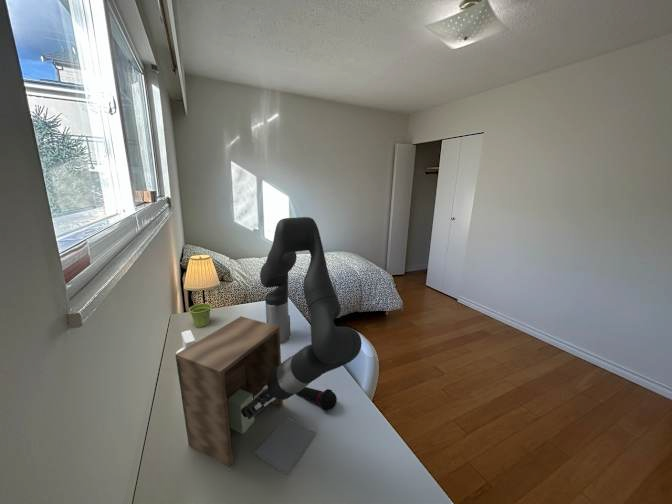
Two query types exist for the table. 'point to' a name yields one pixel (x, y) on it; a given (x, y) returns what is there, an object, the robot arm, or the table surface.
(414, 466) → the table surface
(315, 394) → the microphone
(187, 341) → the cylinder with rectangular tab
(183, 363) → the walnut cubby
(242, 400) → the sage block
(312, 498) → the table surface
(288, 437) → the slate mat
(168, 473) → the table surface
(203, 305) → the plant pot
